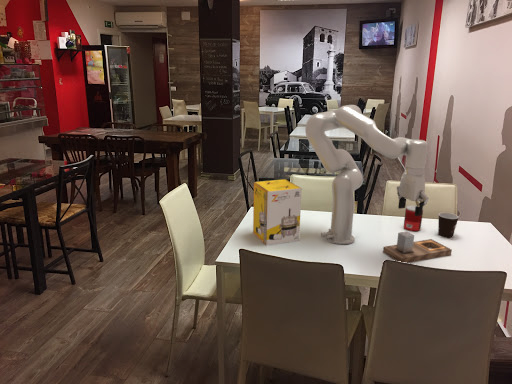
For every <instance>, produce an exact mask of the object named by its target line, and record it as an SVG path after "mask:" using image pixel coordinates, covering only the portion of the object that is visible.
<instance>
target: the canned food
mask: <svg viewBox="0 0 512 384" xmlns="http://www.w3.org/2000/svg"><path fill="white" fill-rule="evenodd" d="M416 206H417V205H407V206H405V210H404V211H405V213H404V220H403V221H404V222H403V228H404V229H405V230H406V231H407V232H408V231H410V232H420V231H421V228H422V223H423V222H422V221H423V213H424V209H423V210H422V215H421V216H415V207H416Z"/></svg>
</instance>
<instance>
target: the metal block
mask: <svg viewBox="0 0 512 384" xmlns="http://www.w3.org/2000/svg"><path fill="white" fill-rule="evenodd" d="M414 240H415V235H414V234H413V233H411V232H408V231H403V232H402V231H401V232H398V233H397V240H396V241H397V242H396V245H397V248H396V250H397V251H399V252H400V253H402V254H408V253H412V250H413V242H415V241H414Z"/></svg>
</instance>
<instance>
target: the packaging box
mask: <svg viewBox="0 0 512 384" xmlns="http://www.w3.org/2000/svg"><path fill="white" fill-rule="evenodd" d="M302 189H303V188H301V187H300V186H299V185H296V184H295V183H293V182H291V181H289V180H288V179H286V178H284V179H274V180H263V181H261V180H260V181H255V182H253V214H252V215H253V219H252V220H253V221H252V223H253V226H252V230H253V231H252V232H253V234H254V235H255V236H257V237H256V238H258V239H259V240H261V241H262V242H263V244H265V246H274V245H279V244H285V243H286V244H287V243H292V242H298V241H300V231H301V230H300V229H301V228H300V227H301V214H302V213H301V210H302V209H301V208H302V191H303V190H302Z"/></svg>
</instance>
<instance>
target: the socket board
mask: <svg viewBox="0 0 512 384" xmlns="http://www.w3.org/2000/svg"><path fill="white" fill-rule="evenodd" d="M382 247H383V248H382V249H383V250H382V253H384V254H385V255H386V256H388V255H389V256H388V257H390V258H392V259H393V260H394V261H396V260H397V261H396V262H398V261H401V262H407V263H406V264H409V263H416V262H420V261H424V260H431V259H436V258H437V259H438V258H442V257H447V256H452V250H453V249H452V248H451V247H448V246H446V245H444V244H442V243H440V242H438V241H436V240H434V239H432V238H429V239H423V240H415V241H414V242H413V250H412V253H408V254H402V253H400V252H399V251H397V250H396V248H397V244H393V245H386V246H382Z"/></svg>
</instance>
